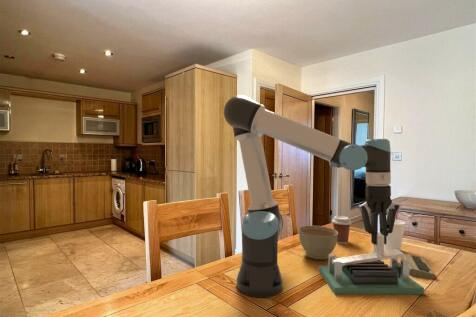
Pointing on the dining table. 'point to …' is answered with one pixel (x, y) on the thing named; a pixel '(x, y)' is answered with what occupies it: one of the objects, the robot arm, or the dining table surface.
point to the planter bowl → (318, 241)
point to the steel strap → (368, 257)
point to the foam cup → (395, 236)
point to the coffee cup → (341, 228)
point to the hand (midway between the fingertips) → (379, 253)
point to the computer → (418, 266)
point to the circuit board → (350, 288)
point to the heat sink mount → (371, 272)
